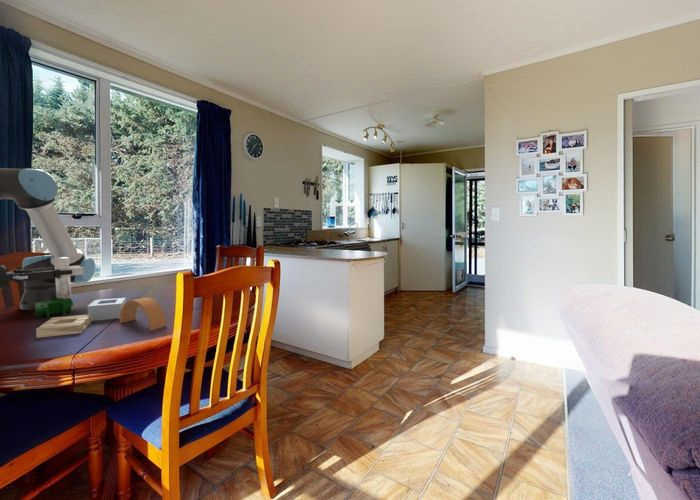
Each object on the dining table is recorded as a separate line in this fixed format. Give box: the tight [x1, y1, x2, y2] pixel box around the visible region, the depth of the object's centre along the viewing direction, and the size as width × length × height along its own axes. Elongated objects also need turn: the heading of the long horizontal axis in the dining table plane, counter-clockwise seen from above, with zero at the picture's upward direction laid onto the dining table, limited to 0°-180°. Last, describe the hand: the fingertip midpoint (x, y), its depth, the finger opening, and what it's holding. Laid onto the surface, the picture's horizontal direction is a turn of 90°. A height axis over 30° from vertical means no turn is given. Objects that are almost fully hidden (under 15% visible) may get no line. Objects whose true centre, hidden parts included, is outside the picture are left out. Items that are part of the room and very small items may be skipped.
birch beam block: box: [35, 314, 93, 339], centre depth 121 cm, size 14×12×3 cm
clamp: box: [34, 297, 74, 318], centre depth 139 cm, size 12×6×9 cm, turn 133°
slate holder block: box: [87, 297, 127, 322], centre depth 138 cm, size 11×11×6 cm
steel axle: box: [54, 257, 72, 298], centre depth 119 cm, size 4×4×14 cm
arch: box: [119, 297, 167, 331], centre depth 127 cm, size 6×20×10 cm, turn 63°
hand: (81, 269), depth 123 cm, fingers closed on steel axle, 4 cm apart
